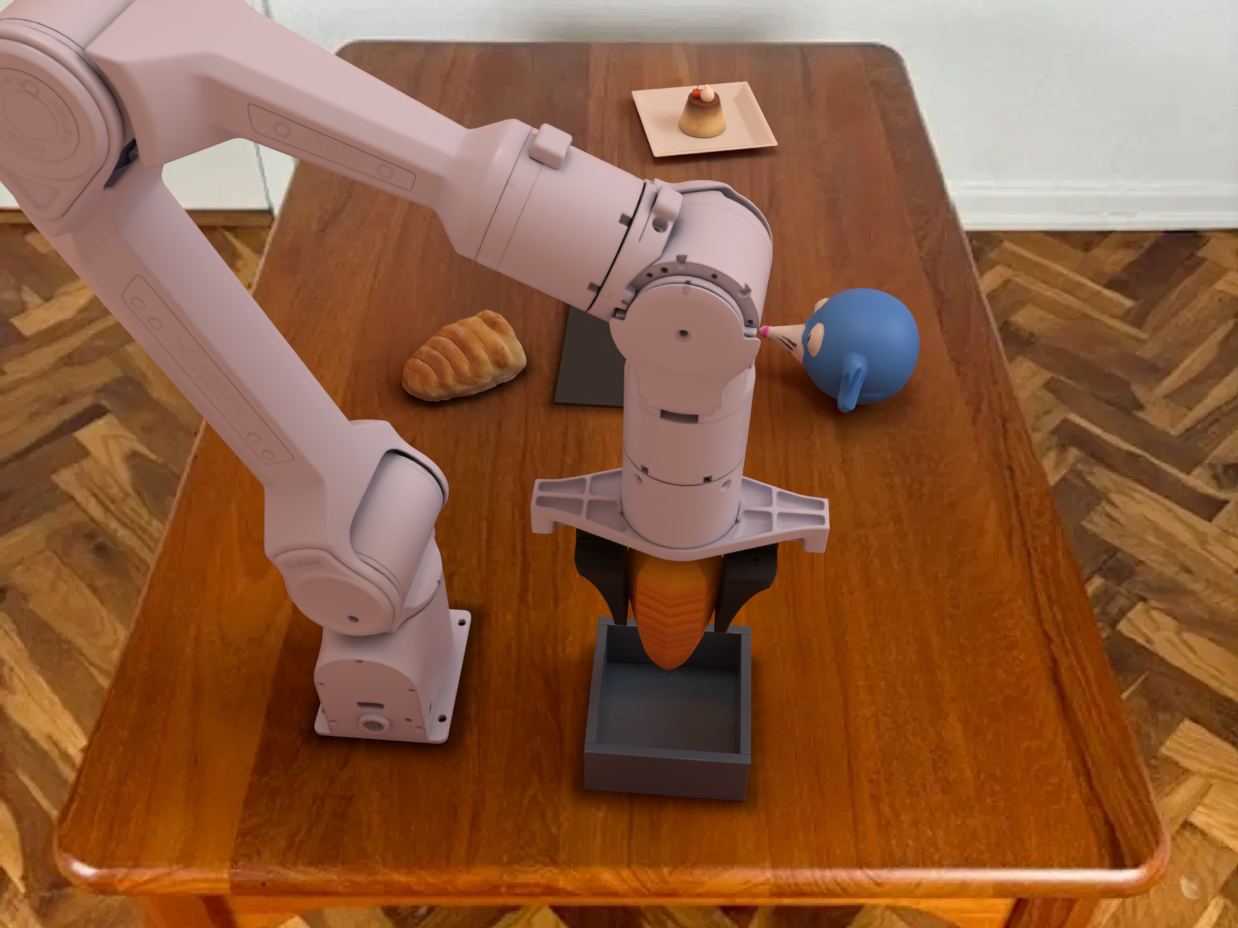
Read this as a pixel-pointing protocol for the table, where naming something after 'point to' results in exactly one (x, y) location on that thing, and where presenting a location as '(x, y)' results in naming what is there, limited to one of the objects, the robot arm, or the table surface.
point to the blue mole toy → (854, 346)
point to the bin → (669, 716)
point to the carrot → (672, 603)
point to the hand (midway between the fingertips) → (671, 613)
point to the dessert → (702, 119)
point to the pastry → (464, 359)
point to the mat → (590, 364)
